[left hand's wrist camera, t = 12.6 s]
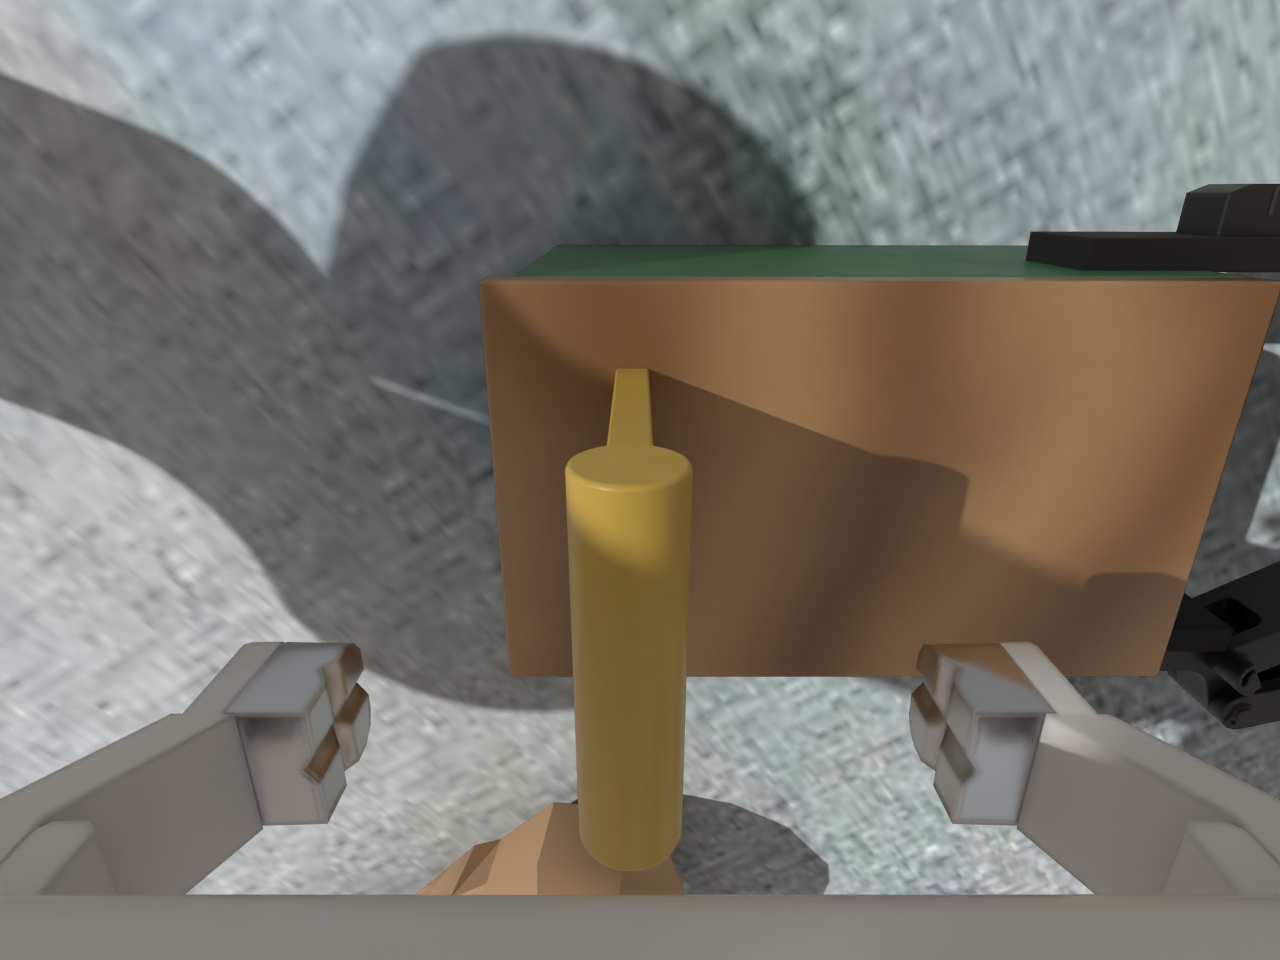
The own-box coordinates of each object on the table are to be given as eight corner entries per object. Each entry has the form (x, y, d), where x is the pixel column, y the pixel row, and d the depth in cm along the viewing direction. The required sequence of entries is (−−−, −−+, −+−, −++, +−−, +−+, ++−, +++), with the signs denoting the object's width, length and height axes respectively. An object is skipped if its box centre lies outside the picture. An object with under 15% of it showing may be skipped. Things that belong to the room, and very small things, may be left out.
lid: (514, 658, 19) (437, 947, 12) (485, 275, 16) (349, 351, 8) (1137, 657, 19) (1445, 946, 12) (1253, 276, 16) (1802, 353, 8)
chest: (567, 509, 28) (535, 656, 19) (557, 244, 25) (512, 275, 16) (977, 508, 28) (1135, 656, 19) (1027, 245, 25) (1251, 276, 16)
